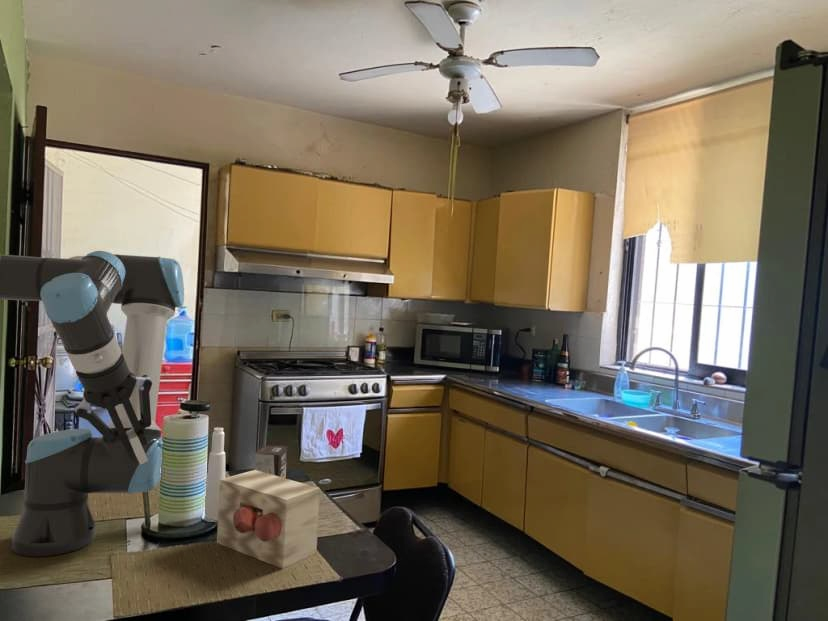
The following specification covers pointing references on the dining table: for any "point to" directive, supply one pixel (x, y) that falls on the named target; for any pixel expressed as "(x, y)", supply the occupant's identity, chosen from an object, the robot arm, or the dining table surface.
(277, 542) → the block
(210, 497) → the cosmetic bottle
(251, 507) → the knob
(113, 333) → the robot arm
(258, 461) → the coffee box
